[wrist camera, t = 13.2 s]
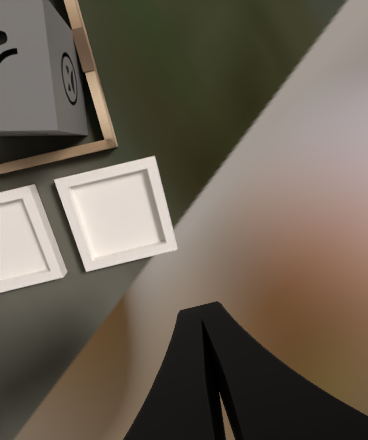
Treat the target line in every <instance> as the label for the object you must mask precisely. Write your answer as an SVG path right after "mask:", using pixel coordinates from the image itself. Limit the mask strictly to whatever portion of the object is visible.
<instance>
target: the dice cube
mask: <svg viewBox="0 0 368 440" xmlns="http://www.w3.org/2000/svg"><path fill="white" fill-rule="evenodd" d="M87 135H88V129H87V119H86V108H85V98H84V87H83V77H82V66H81V62H80V59H79V55H78V52H77V49H76V45H75V42H74V38H73V32H72V30H71V29H70V28H69V26H68V25H67V24H66V23H65V21H64V20H63V19H62V17H61V16H60V15H59V13H58V12H57V11H56V10H55V8H54V7H53V6H52V4H51V3H50V2H49V0H0V136H87Z"/></svg>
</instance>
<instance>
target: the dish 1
mask: <svg viewBox="0 0 368 440" xmlns="http://www.w3.org/2000/svg"><path fill="white" fill-rule="evenodd" d="M66 273H67V270H66V267H65V264H64V262H63V259H62V256H61V253H60V251H59V248H58V245H57V243H56V240H55V237H54V235H53V232H52V229H51V227H50V224H49V221H48V219H47V216H46V213H45V210H44V208H43V205H42V202H41V200H40V197H39V194H38V192H37V189H36V186H35V184H33V185H28V186H24V187H20V188H16V189H11V190H7V191H3V192H0V293H1V292H5V291H9V290H13V289H17V288H21V287H25V286H30V285H34V284H38V283H42V282H46V281H50V280H54V279H59V278H63V277H64V276H65V274H66Z"/></svg>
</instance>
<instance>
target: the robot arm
mask: <svg viewBox="0 0 368 440" xmlns="http://www.w3.org/2000/svg"><path fill="white" fill-rule="evenodd" d="M219 392H220V395H221V398H222V401H223V404H224V407H225V410H226V413H227V416H228V419H229V422H230V425H231V428H232V431H233V434H234V437H235V440H368V416H367V415H365V414H363V413H361V412H360V411H358V410H356V409H354V408H353V407H351V406H349V405H347V404H345V403H344V402H342V401H340V400H338V399H337V398H335V397H333V396H331V395H330V394H329V393H327V392H325V391H324V390H322V389H321V388H319V387H318V386H316V385H314V384H313V383H311V382H310V381H308V380H307V379H305V378H304V377H303V376H301V375H300V374H298V373H297V372H295V371H294V370H292V369H291V368H290V367H288V366H287V365H286V364H284V363H283V362H282V361H280V360H279V359H278V358H277V357H275V356H274V355H273V354H272V353H270V352H269V351H268V350H267V349H265V348H264V347H263V346H262V345H261V344H259V343H258V342H257V341H256V340H255V339H254V338H253V337H252V336H251V335H250V334H248V332H246V331H245V330H244V329H243V328H242V327H241V326H240V325H239V324H238V323H237V322H236V321H235V320H234V319H233V318H232V317H231V315H230V314H229V313H228V312H227V311H226V310H225V308H224V307H223V306H222V304H221V303H219V302H212V303H209V304H204V305H200V306H196V307H192V308H188V309H184V310H180V312H179V313H178V315H177V320H176V324H175V328H174V331H173V335H172V338H171V341H170V344H169V346H168V350H167V352H166V355H165V357H164V360H163V362H162V365H161V367H160V370H159V372H158V374H157V376H156V379H155V381H154V383H153V385H152V388H151V390H150V392H149V394H148V396H147V398H146V400H145V402H144V404H143V406H142V408H141V410H140V411H139V413H138V415H137V417H136V418H135V420H134V422H133V424H132V426H131V428H130V429H129V431H128V432H127V434H126V436H125V437H124V439H123V440H226V437H225V431H224V423H223V416H222V409H221V402H220V395H219Z"/></svg>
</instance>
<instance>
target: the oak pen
mask: <svg viewBox="0 0 368 440" xmlns="http://www.w3.org/2000/svg"><path fill="white" fill-rule="evenodd" d="M64 3H65V6H66V10H67V13H68V16H69V20H70V23H71V27H72V29H71V30H72V32H73V38H74V42H75V45H76V49H77V52H78V55H79V59H80V62H81V66H82V69H83V72H84V73H85V75H86V78H87V82H88V85H89V88H90V92H91V95H92V99H93V102H94V106H95V109H96V112H97V116H98V119H99V123H100V126H101V130H102V133H103V136H104V140H101V141H97V142H92V143H88V144H84V145H80V146H75V147H71V148H67V149H63V150H58V151H54V152H50V153H46V154H41V155H37V156H33V157H28V158H24V159H20V160H16V161H11V162H7V163H3V164H0V174H4V173H8V172H13V171H17V170H21V169H25V168H30V167H34V166H38V165H42V164H47V163H51V162H55V161H59V160H64V159H68V158H72V157H76V156H81V155H85V154H89V153H94V152H98V151H102V150H106V149H111V148H115V147H118V144H117V140H116V136H115V133H114V129H113V126H112V122H111V119H110V115H109V112H108V108H107V104H106V101H105V97H104V94H103V90H102V87H101V83H100V79H99V76H98V72H97V69H96V65H95V62H94V58H93V55H92V51H91V47H90V44H89V40H88V37H87V33H86V30H85V26H84V22H83V19H82V15H81V12H80V8H79V5H78V1H77V0H64Z"/></svg>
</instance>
